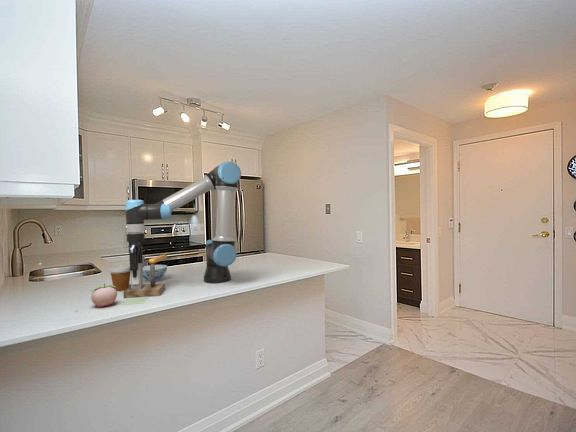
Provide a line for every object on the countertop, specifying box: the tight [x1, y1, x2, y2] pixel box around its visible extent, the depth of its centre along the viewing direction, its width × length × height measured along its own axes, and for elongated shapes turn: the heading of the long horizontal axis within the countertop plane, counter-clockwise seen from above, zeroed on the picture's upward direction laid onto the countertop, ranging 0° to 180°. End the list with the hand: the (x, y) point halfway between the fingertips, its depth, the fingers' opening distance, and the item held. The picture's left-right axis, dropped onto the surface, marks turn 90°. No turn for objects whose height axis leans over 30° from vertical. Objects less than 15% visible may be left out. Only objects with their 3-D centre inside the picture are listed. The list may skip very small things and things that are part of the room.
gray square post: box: [130, 263, 144, 289], centre depth 142 cm, size 4×4×14 cm
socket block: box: [122, 263, 166, 299], centre depth 143 cm, size 15×12×15 cm
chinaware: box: [143, 264, 168, 283], centre depth 174 cm, size 15×15×8 cm
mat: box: [120, 297, 149, 306], centre depth 131 cm, size 9×9×1 cm
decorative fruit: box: [90, 283, 118, 308], centre depth 125 cm, size 9×8×10 cm
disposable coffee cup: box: [109, 265, 131, 292], centre depth 151 cm, size 10×10×12 cm
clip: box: [148, 254, 168, 264], centre depth 150 cm, size 15×3×2 cm, turn 179°
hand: (137, 282), depth 142 cm, fingers closed on gray square post, 4 cm apart
